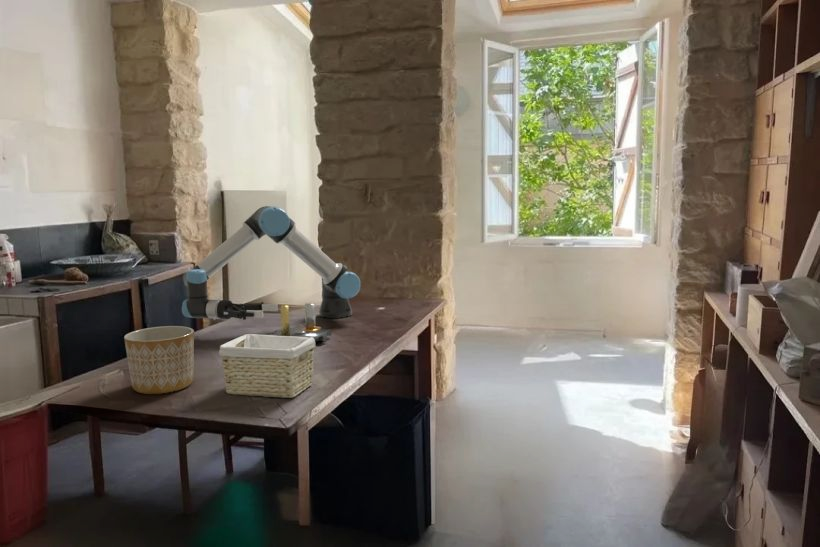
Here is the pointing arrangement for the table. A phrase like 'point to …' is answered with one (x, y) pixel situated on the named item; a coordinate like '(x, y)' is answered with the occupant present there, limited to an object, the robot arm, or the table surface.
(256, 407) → the table surface
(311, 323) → the roller
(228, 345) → the storage basket
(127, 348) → the planter
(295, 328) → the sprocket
